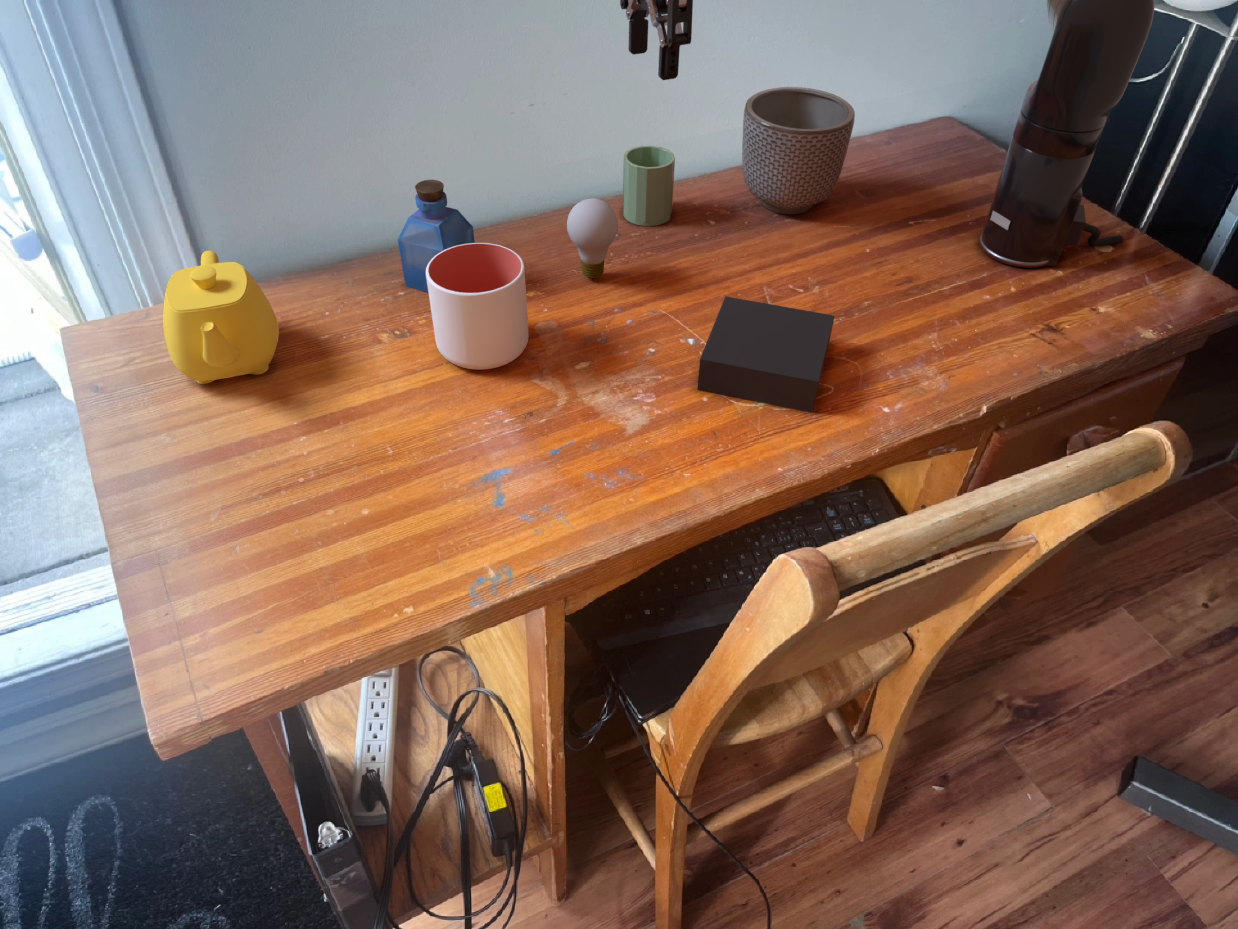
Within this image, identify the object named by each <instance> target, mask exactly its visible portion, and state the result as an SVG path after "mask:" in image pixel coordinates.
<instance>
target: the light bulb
mask: <svg viewBox="0 0 1238 929" xmlns="http://www.w3.org/2000/svg"><path fill="white" fill-rule="evenodd" d="M571 208H572V209H571V210H570V211H569V214H568V216H567V221H566V229H567V234H568V237H569V238H570V240H571V242H572V243H573V245H574V246H575V247H576V249H577V252H578V256H579V258H580V264H581V274H582V275H583V276H584V277H586V278H588V279H589V280H596V279H597V278H599V277H602V276H603V275H604V272H605V259H606V258H607V257H606V256H607V255H608V250H609V247H610V246H611V245H612V243H613V242H614V240H615V239H616V237H617V234H618V231H619V221H618V216H617V214H616V212H615V210H614V209H613V207H612V206H611V205H610V204H609V203H607V202H606V201H604V200H602V199H600V198H585V199H582V200H580V201H579V202H578V203H576V204H575V205H574V206H573V207H571Z"/></svg>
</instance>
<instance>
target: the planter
mask: <svg viewBox="0 0 1238 929" xmlns="http://www.w3.org/2000/svg"><path fill="white" fill-rule="evenodd" d="M855 113H856V112H855V110H854V108H853V106H852V105H851V104H850V103H849V101H847V100H846V99H844V98H842V97H840V96H838V95H836V94H834V93H831V92H828V91H825V90H821V89H817V88H816V89H815V88H812V87H811V88H809V87H802V86H801V87H800V86H785V87H784V86H782V87H773V88H769V89H764V90H761V91H759V92H756V93H754V94H753V95H752V96H750V97H749V98H748V99H747V100H746V103H745V105H744V110H743V118H742V119H743V120H742V142H741V143H742V144H741V163H742V164H741V165H742V176H743V180H744V183H745V186H746V187H747V189H748V191H749V192H750V193H751V194H752V195H753V196H754V197H756V198H757V199H758V200H759V202H760V204H761V205H762V206H763V207H764V208H765V209H767V210H768V211H771V212H773V213H776V214H779V215H780V214H781V215H799V214H803V213H806V212H807V211H809V210H810V209H811V208H812V207H813V206H814V205H817V204H820V203H821V202H822V201H824V200H825V199H826V198H828V197H829V196H830V195H831V193H832V192H833V191H834V189H835V188H836V186H837V183H838V181H839V179H840V176H841V174H842V170H843V167H844V163H845V160H846V157H847V153H848V149H849V146H850V141H851V137H852V133H853V129H854V125H855V121H856V120H855V119H856V118H855V116H856V114H855Z"/></svg>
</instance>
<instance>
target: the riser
mask: <svg viewBox="0 0 1238 929" xmlns="http://www.w3.org/2000/svg"><path fill="white" fill-rule="evenodd" d="M834 320H835V315H833V314H827V313H823V312H822V313H821V312H816V311H810V310H806V309H800V308H794V307H788V306H783V305H782V306H781V305H778V304H771V303H766V302H760V301H754V300H749V299H745V298H743V299H742V298H737V297H732V296H725V297H724V299H723V301H722V303H721V306H720V309H719V312H718V314H717V316H716V317H715V321H714V323H713V326H712V329H711V331H710V333H709V336H708V339H707V341H706V342H705V345H704V348H703V351H702V353H701V356H700V358H699V364H698V365H699V368H698V378H697V391H703V392H707V393H713V394H716V395H723V396H727V397H732V398H737V399H743V400H748V401H753V402H756V403H757V402H758V403H763V404H768V405H773V406H777V407H782V408H788V409H793V410H798V411H802V412H808V413H813V412H814V407H815V403H816V399H817V395H818V391H819V387H820V383H821V378H822V374H823V370H824V367H825V362H826V358H827V354H828V349H829V346H830V342H831V337H832V336H831V335H832V330H833V326H834V322H835V321H834Z"/></svg>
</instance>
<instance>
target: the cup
mask: <svg viewBox="0 0 1238 929" xmlns="http://www.w3.org/2000/svg"><path fill="white" fill-rule="evenodd" d="M525 271H526V270H525V263H524V260H523V259H522V257H521V256H520V255H519V254H518V253H517V252H515V251H514V250H512V249H510V248H509V247H505V246H503V245H500V244H496V243H495V244H494V243H489V242H475V243H469V244H462V245H458V246H454V247H451V248H448V249H446V250H444V251H442V252H440V253H438V254H437V255H436V256H434V257H433V258H432V259H431V260H430V262H429V263H428V265H427V267H426V279H427V286H428V292H429V293H428V292H427V293H428V300H429V305H430V306H429V307H430V312H431V318H432V327H433V333H434V339H435V340H434V341H435V346H436V347H437V350H438V352H439V353H440V355H441V356H442V357H443V358H444V359H445V360H446V361H448V362H449V363H451V364H453V365H455V366H457V367H460V368H463V369H468V370H477V371H478V370H479V371H481V370H482V371H483V370H491V369H496V368H499V367H503V366H505V365H507V364H509V363H511V362H513V361H514V360H516V359H517V358H518V357H520V355H521V354H523V352H524V350H525V349H526V347H527V345H528V342H529V337H530V335H529V333H530V332H529V318H528V317H529V316H528V303H527V286H526V272H525Z"/></svg>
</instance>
